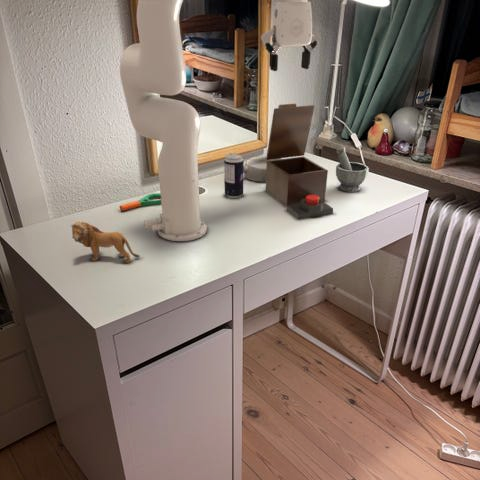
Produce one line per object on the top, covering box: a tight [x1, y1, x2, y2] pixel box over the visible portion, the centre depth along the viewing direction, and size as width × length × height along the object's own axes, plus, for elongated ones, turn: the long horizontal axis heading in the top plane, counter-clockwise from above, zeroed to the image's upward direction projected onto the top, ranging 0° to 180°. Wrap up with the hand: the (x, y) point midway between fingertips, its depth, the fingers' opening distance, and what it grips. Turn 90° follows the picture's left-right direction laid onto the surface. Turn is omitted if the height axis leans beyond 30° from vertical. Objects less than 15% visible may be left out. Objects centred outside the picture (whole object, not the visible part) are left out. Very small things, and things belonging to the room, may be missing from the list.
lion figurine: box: [70, 221, 140, 264], centre depth 112 cm, size 15×5×9 cm, turn 90°
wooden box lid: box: [266, 103, 316, 160], centre depth 143 cm, size 15×13×5 cm
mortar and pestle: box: [335, 146, 370, 193], centre depth 150 cm, size 11×9×12 cm
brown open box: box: [265, 155, 329, 208], centre depth 145 cm, size 15×13×9 cm
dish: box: [244, 155, 283, 183], centre depth 161 cm, size 14×14×5 cm
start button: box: [306, 195, 319, 205], centre depth 134 cm, size 4×4×2 cm
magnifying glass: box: [119, 192, 162, 212], centre depth 141 cm, size 15×6×2 cm, turn 133°
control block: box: [286, 198, 334, 221], centre depth 136 cm, size 11×8×4 cm
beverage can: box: [223, 152, 245, 199], centre depth 144 cm, size 6×6×12 cm
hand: (289, 69), depth 135 cm, fingers open, 9 cm apart
